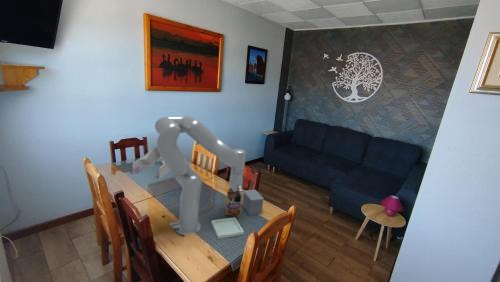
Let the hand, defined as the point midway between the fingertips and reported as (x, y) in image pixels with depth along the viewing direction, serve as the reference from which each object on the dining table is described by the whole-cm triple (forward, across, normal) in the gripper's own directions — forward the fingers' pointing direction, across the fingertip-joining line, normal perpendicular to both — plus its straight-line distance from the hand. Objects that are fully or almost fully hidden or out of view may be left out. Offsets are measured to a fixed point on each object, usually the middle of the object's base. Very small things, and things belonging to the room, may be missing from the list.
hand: (234, 197), depth 135 cm
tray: (+11, +13, -8) cm, 19 cm away
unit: (+11, -2, +13) cm, 17 cm away
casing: (+11, -74, -40) cm, 85 cm away
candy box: (+11, 0, 0) cm, 11 cm away
